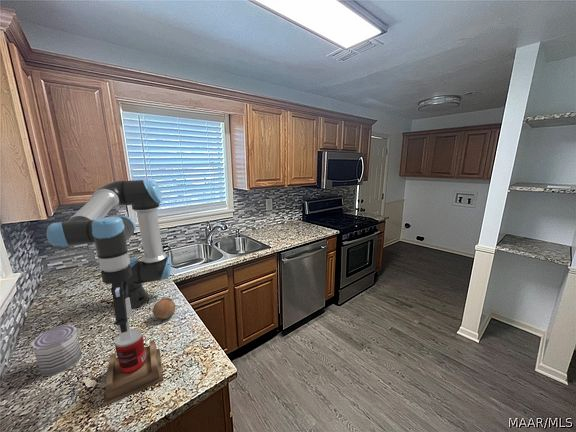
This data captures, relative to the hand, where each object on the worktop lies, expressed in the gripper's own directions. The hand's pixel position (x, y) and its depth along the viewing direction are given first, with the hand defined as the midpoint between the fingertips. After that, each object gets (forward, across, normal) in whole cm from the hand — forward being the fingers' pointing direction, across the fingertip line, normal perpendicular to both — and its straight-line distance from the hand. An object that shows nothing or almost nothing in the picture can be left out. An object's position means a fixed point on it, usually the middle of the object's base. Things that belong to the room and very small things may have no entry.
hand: (127, 326), depth 76 cm
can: (+19, -20, -23) cm, 36 cm away
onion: (+19, -29, +12) cm, 37 cm away
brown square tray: (+19, +1, 0) cm, 19 cm away
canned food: (+15, 0, 0) cm, 15 cm away
